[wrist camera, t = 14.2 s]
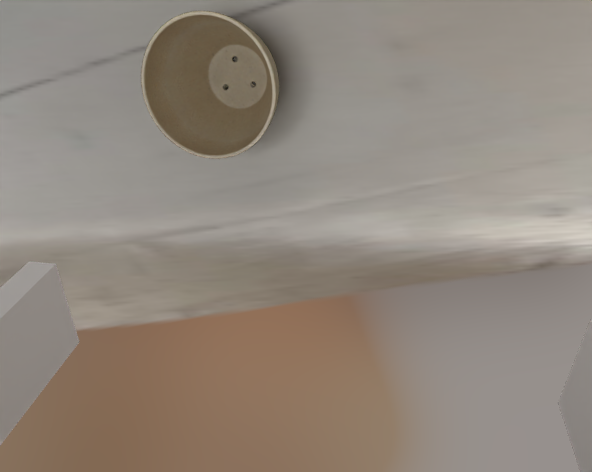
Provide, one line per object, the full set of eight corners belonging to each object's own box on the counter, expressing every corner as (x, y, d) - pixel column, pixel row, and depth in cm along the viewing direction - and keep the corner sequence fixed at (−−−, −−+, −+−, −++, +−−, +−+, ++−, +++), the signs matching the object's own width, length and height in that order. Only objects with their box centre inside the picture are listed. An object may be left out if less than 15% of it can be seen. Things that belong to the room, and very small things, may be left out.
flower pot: (274, -10, 39) (245, -13, 32) (313, 117, 42) (294, 138, 36) (163, 34, 42) (117, 40, 36) (208, 149, 45) (173, 173, 39)
